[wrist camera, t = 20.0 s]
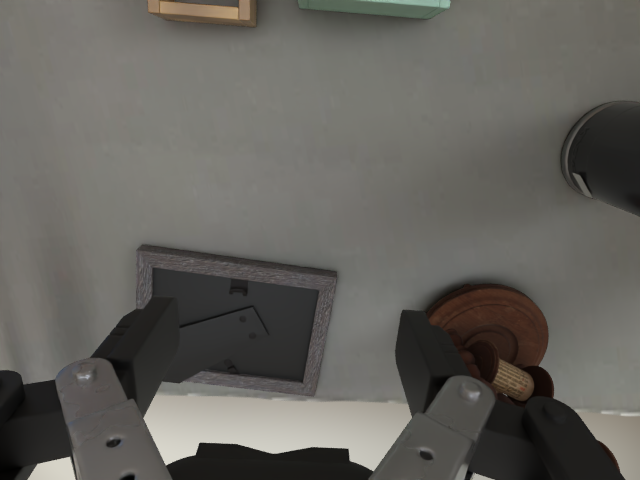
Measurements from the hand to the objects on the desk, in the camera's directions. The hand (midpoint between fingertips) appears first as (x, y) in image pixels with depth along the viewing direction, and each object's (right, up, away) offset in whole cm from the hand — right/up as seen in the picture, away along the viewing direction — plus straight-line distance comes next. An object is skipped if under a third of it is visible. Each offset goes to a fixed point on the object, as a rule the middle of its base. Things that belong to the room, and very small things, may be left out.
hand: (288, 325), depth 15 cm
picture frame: (-9, -6, +33) cm, 34 cm away
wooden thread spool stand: (+19, -8, +34) cm, 40 cm away
